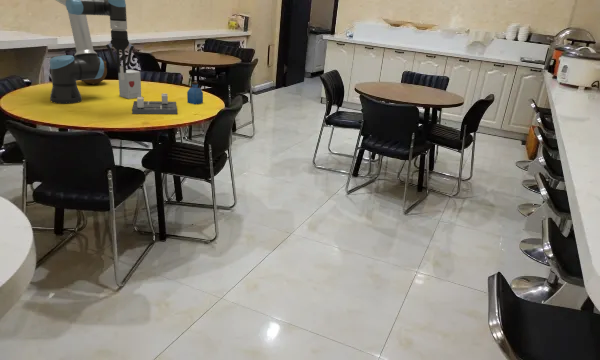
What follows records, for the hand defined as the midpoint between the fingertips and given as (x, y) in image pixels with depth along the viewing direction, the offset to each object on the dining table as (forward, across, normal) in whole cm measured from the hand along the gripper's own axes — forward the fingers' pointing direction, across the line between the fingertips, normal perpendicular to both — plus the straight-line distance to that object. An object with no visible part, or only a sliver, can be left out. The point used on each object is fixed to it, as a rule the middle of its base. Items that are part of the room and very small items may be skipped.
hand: (122, 79), depth 228 cm
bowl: (+16, -24, +74) cm, 80 cm away
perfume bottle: (+17, +37, +23) cm, 47 cm away
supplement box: (+17, +1, +37) cm, 41 cm away
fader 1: (+14, +8, 0) cm, 16 cm away
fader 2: (+14, +20, +10) cm, 26 cm away
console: (+17, +15, +5) cm, 23 cm away
